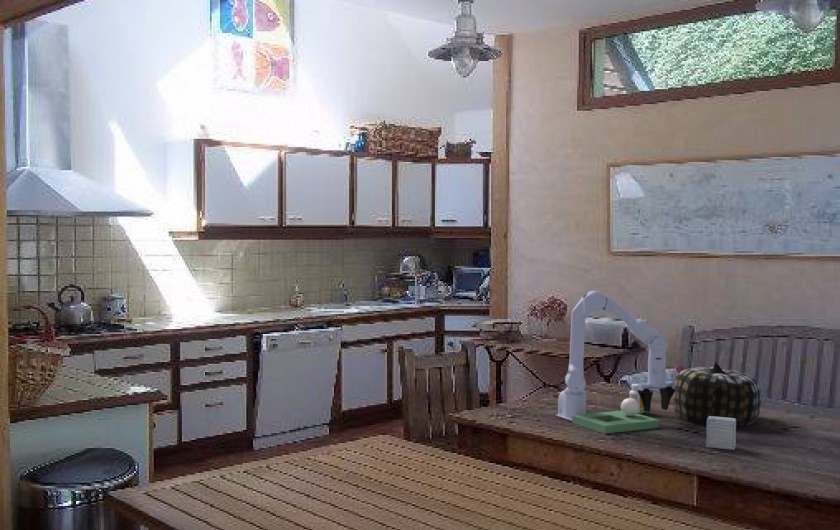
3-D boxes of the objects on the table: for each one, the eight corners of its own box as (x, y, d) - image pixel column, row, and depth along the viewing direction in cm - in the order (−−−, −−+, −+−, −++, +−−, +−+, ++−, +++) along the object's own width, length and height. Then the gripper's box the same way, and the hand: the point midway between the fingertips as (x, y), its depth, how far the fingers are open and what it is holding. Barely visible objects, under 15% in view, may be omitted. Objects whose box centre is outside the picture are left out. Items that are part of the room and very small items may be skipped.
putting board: (572, 422, 282) (572, 415, 282) (624, 417, 292) (624, 410, 292) (604, 433, 267) (605, 425, 267) (659, 427, 277) (659, 420, 277)
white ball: (616, 415, 283) (617, 397, 283) (630, 413, 286) (631, 395, 286) (628, 418, 278) (629, 400, 278) (643, 417, 281) (643, 399, 281)
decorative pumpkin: (779, 422, 288) (780, 363, 288) (725, 432, 272) (727, 369, 271) (705, 406, 313) (707, 352, 312) (652, 415, 296) (654, 358, 296)
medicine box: (735, 447, 252) (736, 418, 252) (734, 450, 248) (735, 421, 248) (707, 444, 255) (708, 415, 255) (706, 447, 251) (706, 418, 251)
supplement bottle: (643, 410, 304) (644, 383, 303) (645, 413, 298) (646, 386, 298) (628, 410, 304) (628, 383, 304) (630, 413, 299) (630, 385, 299)
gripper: (648, 373, 280) (647, 414, 280) (681, 370, 286) (680, 410, 287) (633, 370, 286) (632, 410, 286) (666, 367, 292) (665, 406, 293)
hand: (655, 410), depth 287 cm, fingers open, 7 cm apart
